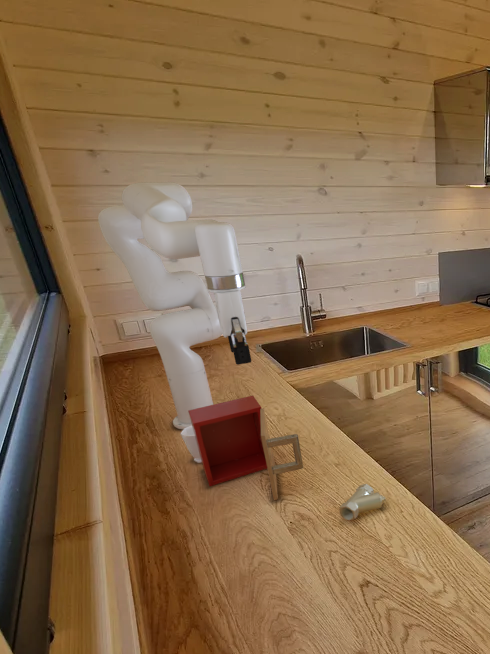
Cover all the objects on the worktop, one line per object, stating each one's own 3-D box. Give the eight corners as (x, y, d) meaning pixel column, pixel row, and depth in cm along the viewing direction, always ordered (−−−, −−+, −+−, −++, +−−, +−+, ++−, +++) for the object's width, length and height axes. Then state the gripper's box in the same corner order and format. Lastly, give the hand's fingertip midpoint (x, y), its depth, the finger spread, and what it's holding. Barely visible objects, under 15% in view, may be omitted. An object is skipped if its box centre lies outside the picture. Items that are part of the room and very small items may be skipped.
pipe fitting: (388, 504, 104) (360, 496, 105) (388, 489, 102) (359, 481, 104) (369, 527, 97) (340, 519, 98) (369, 512, 95) (339, 503, 97)
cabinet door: (302, 461, 119) (292, 403, 113) (307, 492, 107) (296, 429, 101) (272, 467, 117) (260, 408, 111) (273, 500, 105) (260, 436, 99)
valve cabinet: (273, 466, 117) (261, 406, 111) (209, 486, 110) (193, 423, 104) (264, 452, 123) (253, 395, 117) (204, 470, 116) (188, 410, 110)
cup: (189, 468, 117) (180, 439, 114) (186, 450, 125) (178, 422, 122) (220, 460, 121) (213, 431, 117) (216, 443, 128) (209, 415, 125)
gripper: (203, 278, 111) (219, 349, 117) (209, 291, 97) (227, 371, 103) (239, 274, 114) (253, 344, 121) (249, 287, 100) (264, 365, 107)
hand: (241, 357), depth 112 cm, fingers open, 9 cm apart
